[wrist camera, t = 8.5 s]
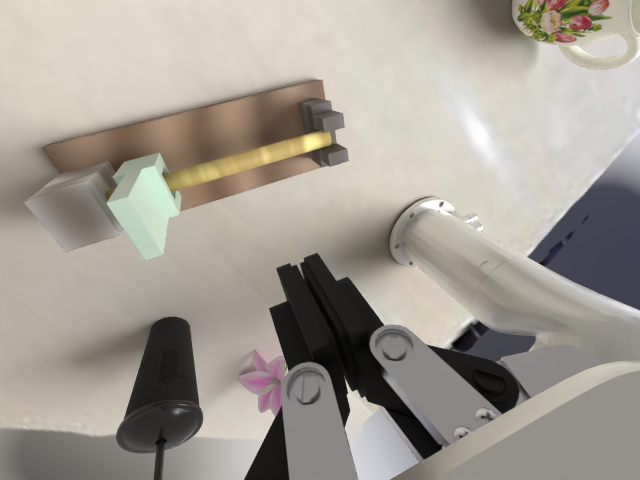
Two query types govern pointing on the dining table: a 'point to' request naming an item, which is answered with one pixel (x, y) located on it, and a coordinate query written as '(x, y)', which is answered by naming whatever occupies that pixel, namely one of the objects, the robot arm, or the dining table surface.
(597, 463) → the robot arm
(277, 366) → the lily
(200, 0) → the dining table surface
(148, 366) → the drinking cup
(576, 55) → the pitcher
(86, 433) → the dining table surface
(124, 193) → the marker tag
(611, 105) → the dining table surface
